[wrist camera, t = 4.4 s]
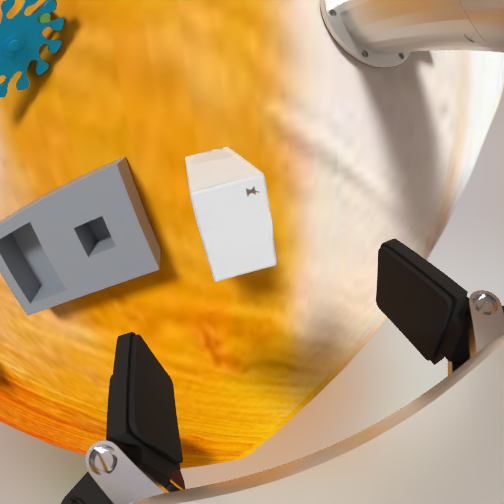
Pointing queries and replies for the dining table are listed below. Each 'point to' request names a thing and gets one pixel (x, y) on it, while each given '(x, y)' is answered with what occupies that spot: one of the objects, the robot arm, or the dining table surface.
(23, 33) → the gear
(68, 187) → the stand
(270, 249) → the skincare box
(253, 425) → the dining table surface
